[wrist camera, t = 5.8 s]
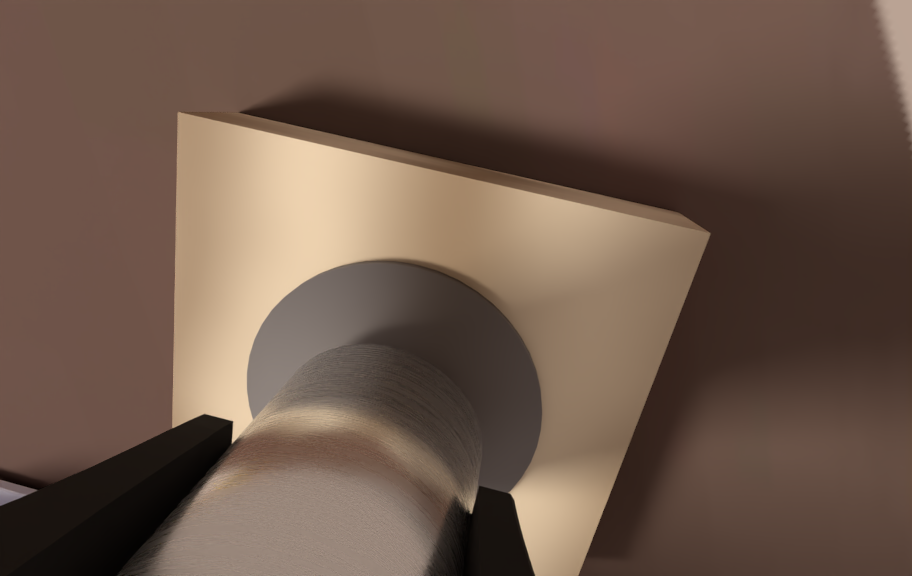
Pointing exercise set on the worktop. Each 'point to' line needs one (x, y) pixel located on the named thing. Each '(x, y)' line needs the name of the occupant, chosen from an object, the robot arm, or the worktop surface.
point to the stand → (429, 299)
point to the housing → (335, 479)
